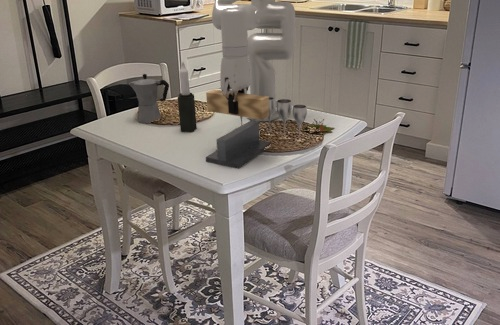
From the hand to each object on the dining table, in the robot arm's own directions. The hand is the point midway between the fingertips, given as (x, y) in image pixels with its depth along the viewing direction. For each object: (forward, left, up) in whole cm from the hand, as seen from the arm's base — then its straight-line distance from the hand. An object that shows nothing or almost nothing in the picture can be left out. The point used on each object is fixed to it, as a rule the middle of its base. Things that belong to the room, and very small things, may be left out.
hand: (237, 111), depth 154 cm
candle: (-11, -29, -14) cm, 34 cm away
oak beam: (0, 0, -1) cm, 1 cm away
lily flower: (-31, +13, -15) cm, 37 cm away
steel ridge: (0, 0, -14) cm, 14 cm away
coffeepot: (-14, -49, -15) cm, 53 cm away
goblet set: (-20, 0, -15) cm, 24 cm away
